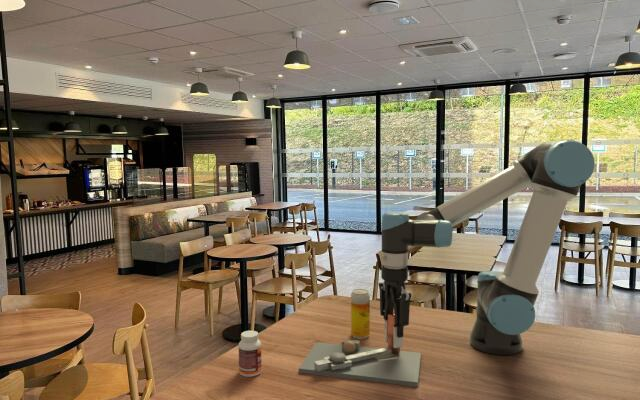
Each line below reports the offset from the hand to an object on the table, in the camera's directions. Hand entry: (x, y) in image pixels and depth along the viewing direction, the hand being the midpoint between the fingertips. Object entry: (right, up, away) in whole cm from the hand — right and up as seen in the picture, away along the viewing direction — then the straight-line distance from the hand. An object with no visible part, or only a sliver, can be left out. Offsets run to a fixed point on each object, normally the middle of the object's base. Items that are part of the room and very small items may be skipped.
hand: (393, 344), depth 137 cm
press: (-10, -5, -4) cm, 11 cm away
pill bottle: (-41, -6, -8) cm, 42 cm away
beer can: (-8, -3, +16) cm, 19 cm away
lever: (-10, -3, -4) cm, 12 cm away
